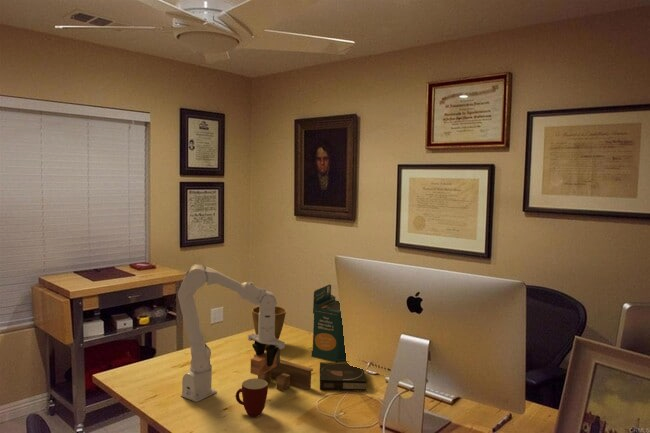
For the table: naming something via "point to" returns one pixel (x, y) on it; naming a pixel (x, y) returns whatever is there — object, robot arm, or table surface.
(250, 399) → the mug
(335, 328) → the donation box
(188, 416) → the table surface
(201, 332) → the robot arm
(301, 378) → the board
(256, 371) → the brown boxy piece
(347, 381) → the portable cd player
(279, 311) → the plant pot
